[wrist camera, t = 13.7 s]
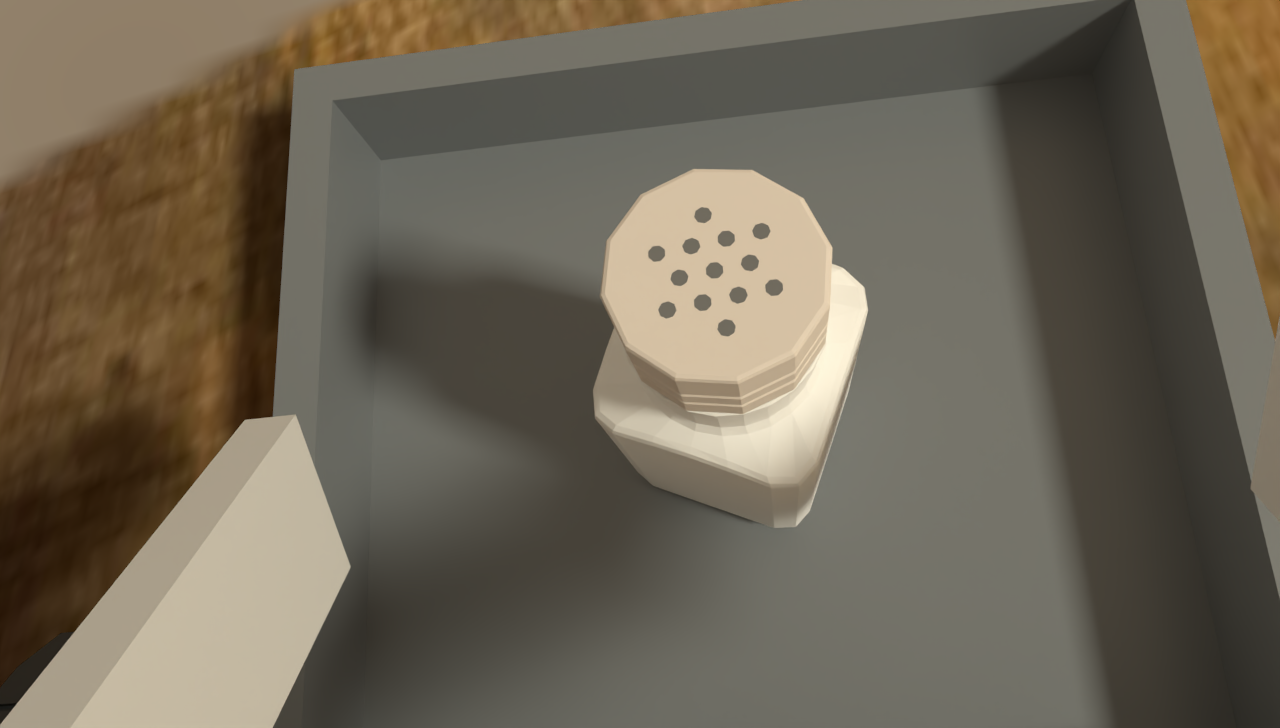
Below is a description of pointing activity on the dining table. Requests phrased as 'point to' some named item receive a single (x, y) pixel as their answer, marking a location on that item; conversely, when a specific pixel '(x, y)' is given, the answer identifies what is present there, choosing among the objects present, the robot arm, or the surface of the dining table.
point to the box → (874, 408)
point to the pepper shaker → (727, 343)
